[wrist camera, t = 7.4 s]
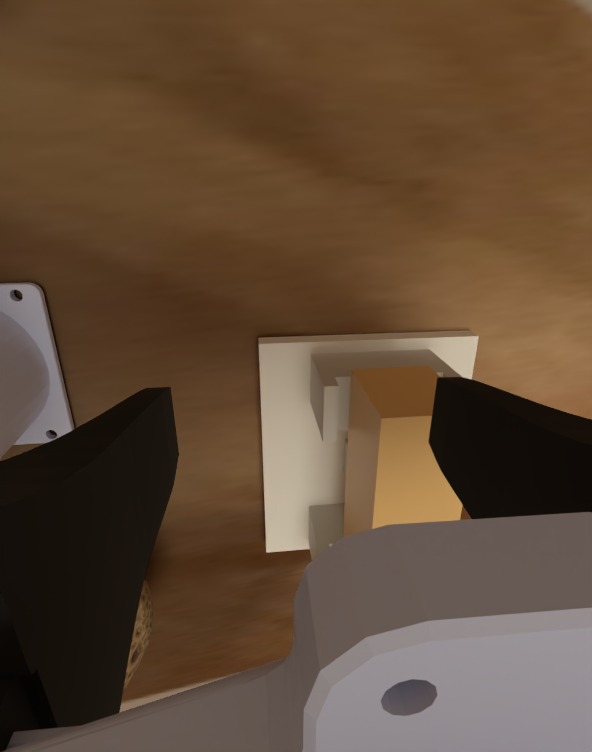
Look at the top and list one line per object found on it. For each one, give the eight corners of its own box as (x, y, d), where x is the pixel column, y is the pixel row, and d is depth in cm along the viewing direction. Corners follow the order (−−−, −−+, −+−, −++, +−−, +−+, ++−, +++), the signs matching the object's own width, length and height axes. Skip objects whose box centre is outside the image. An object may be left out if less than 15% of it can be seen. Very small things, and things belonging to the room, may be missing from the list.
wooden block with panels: (340, 578, 23) (361, 660, 19) (351, 368, 18) (381, 418, 14) (403, 572, 23) (436, 651, 19) (429, 365, 19) (480, 413, 15)
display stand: (265, 540, 27) (270, 610, 22) (258, 337, 22) (261, 375, 17) (438, 526, 28) (475, 590, 23) (469, 330, 23) (524, 364, 18)
